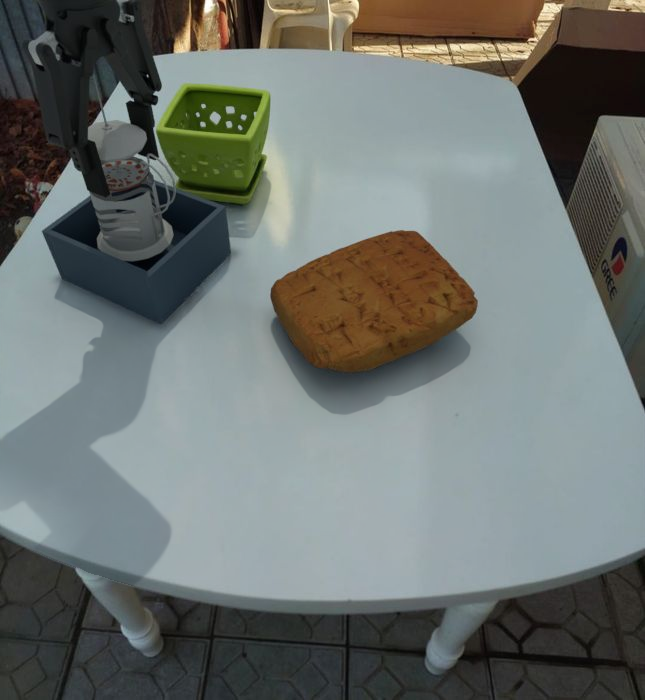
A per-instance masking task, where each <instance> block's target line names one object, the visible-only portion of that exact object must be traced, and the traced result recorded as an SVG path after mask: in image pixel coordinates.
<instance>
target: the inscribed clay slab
mask: <svg viewBox="0 0 645 700" xmlns="http://www.w3.org/2000/svg"><path fill="white" fill-rule="evenodd" d="M475 294H476V292H475V291H474V290H473V289H472V287H471V286H470V285H469V283H468V282H467V281H466V279H465V278H463V277H461V275H460V274H459V272H458V271H457V270H455V268H454V267H453V266H452V265H451V264H450V262H448V260H447V259H445V258H444V257H443V256H442V255H441V254H440V253H439V251H438V250H437V249H436V248H435V247H434V246H433V245H432V244H431V243H430V242H429V241H427V239H426V238H425V237H424V236H423V235H421V233H419V232H418V231H416V230H403V229H402V230H395V231H392V230H390V231H388V232H385V233H381V234H378V235H375V236H372V237H369V238H368V237H367V238H365V239H362V240H360V241H357V242H355V243H351V244H350V245H348V246H344V247H340V248H338V249H336V250H333V251H331V252H330V253H327V254H323V255H321V256H319V257H317V258H315V259H313V260H310V261H308V262H307V263H305V264H304V265H301V266H300V267H298V268H297V269H295V270H292V271H289V272H288V273H286V274H285V275H283V276H282V277H281V278H279V279H276V281H275V282H274V283H273V284H272V286H271V287H270V295H269V296H270V301H271V304H272V308H273V310H274V312H275V315H276V316H277V319H278V320H279V322H280V325H281V326H282V327H283V329H284V331H285V332H286V333H287V335H288V337H289V339H290V340H291V342H292V344H293V345H294V347H295V348H296V349H297V350H298V351H299V352H300V353H301V355H302V356H303V358H304V359H305V360H306V361H307V362H308V363H309V364H311V365H313V366H314V367H315V368H319V369H330V370H333V371H338V372H342V373H345V374H347V373H354V372H355V373H358V372H364V371H370V370H373V369H376V368H379V367H381V366H383V365H385V364H388V363H390V362H393V361H395V360H398V359H401V358H403V357H405V356H408V355H410V354H412V353H416V352H417V351H420V350H422V349H423V350H424V348H426V347H429V346H431V345H433V344H435V343H437V342H439V341H440V340H441V339H442V338H444V337H446V336H447V335H449V334H450V333H452V332H454V331H456V330H457V329H459V328H460V327H462V326H463V325H464V324H466V323H468V322H469V321H470V320H471V319H473V318H474V316H475V314H476V313H477V311H478V310H477V309H478V305H479V300H478V299H477V298H476V296H475Z"/></svg>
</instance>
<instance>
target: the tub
mask: <svg viewBox="0 0 645 700" xmlns="http://www.w3.org/2000/svg"><path fill="white" fill-rule="evenodd" d="M146 180H148V181H149V182H150V183H151V184H152V185H153V182H152V180H150V179H149V178H148V177H147V178H146ZM154 181H155V186H156V191H157V196H158V201H159V205H160V206H161V205H164V204H167V201H168V196H167V191H166V187H165V184H164V182H161V181H158V180H156V179H154ZM167 186H168V191H169V195H170V201H171V200H172V197H173V192H174V188H173V185H169V184H167ZM140 187H143V188H149V189H150V190H151V191H152V192H153V190H152V188H151V187H150V186H149V185H148V184H139V185H138V186H135V187H133V188H130V189H127V190H122V191H119V192H113V193H111V194H112V197H113V196H119V195H122V194H125V193H128V192H131V191H133V190H135V189H138V188H140ZM145 193H146V192H140V193H138V194H135V195H133V196H131V197H128V198H125V199H122V200H118V201H127V200H131V199H135V198H137V197H139V196H142V195H144V194H145ZM150 197H151V198H152V199H153V200H155V199H154V197H153V196H152V195H151V194H150ZM114 202H117V201H114ZM152 205H153V206H154V207H155V208H156V205H155V204H154V203H153V202H152ZM165 208H166V207H163V208H160V210H161V211H163V210H164V209H165ZM156 209H157V208H156ZM124 211H127V210H123V209H116V212H117V213H119V212H124ZM161 215H162V219H164V220H165V221H166V222H167V223H169V224H170V225H171V226H172V230H173V234H174V235H173V238H172V241H171V243H170V245H169V246H168V247H167V248H165V249H164V250H163V251H162V252H161V253H159V254H157V255H155V256H152V257H150V258H148V259H143V260H137V261H122V260H120V259H118V258H115V257H113V256H111V255H108V254H106V253H104V252H102V251H101V250H100V249H99V248H98V244H97V237H98V235H99V233H100V231H101V229H102V228H101V229H100V225H99V222H98V217H97V216H96V212H95V208H94V206H93V203H92V199H91V196H90V195H89V196H87V197H86V198H84V200H82V201H80V202H79V203H78V204H76V205H75V206H73V207H72V208H71V209H70V210H68V211H66V212H65V213H64V214H63V215H61V216H60V217H59V218H57V219H56V220H55V221H54V222H52V223H50V224H49V225H48V226H46V227H45V228H43V229H42V230H41V233H42V235H43V238H44V240H45V242H46V246H47V248H48V250H49V252H50V255H51V257H52V259H53V262H54V264H55V266H56V269H57V271H58V274H59V275H60V278H61V279H62V280H64V281H66V282H68V283H70V284H72V285H74V286H77V287H79V288H81V289H84V290H85V291H88V292H90V293H91V294H92V293H93V294H94V295H97V296H98V297H101V298H102V299H106V300H107V301H110V302H112V303H114V304H116V305H119V306H121V307H122V308H125V309H127V310H129V311H131V312H133V313H136V314H138V315H140V316H142V317H145V318H147V319H148V320H150V321H153V322H155V323H157V324H160V325H162V324H163V323H164V322H165V321H166V320H167V319H168V318H169V317H170V316H171V315H172V314H173V313H174V312H175V311H176V310H177V309H178V308H179V307H180V306H181V305H182V304H183V303H184V302H185V301H186V300H187V299H188V298H189V296H191V295H192V294H193V293H194V291H196V289H197V288H199V287H200V286H201V285H202V284H203V282H205V280H207V279H208V278H209V277H210V276H211V275H212V273H213V272H214V271H215V270H217V268H218V267H220V266H221V264H222V263H224V261H226V260H227V258H228V257H229V256H230V255H231V254H232V251H231V242H230V241H231V240H230V233H229V232H230V231H229V224H228V216H227V215H228V214H227V207H226V206H225V205H224V204H220V203H217V202H216V201H212V200H207V199H204V198H201V197H199V196H196V195H193V194H191V193H188V192H185V191H183V190H180V189H177V188H176V194H175V198H174V201H173V202H172V203H171V204H170V205H169V206H168V209H167V210H166V211H165V212H164V213H162V214H161Z"/></svg>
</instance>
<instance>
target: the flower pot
mask: <svg viewBox="0 0 645 700" xmlns="http://www.w3.org/2000/svg"><path fill="white" fill-rule="evenodd" d="M202 105H205V107H202ZM227 107H228V108H229V107H232V108H233V109H234V110H233V111H234V112H227ZM214 112H215V113H216V114H217V115H219V117H220V118H219V120H218V122H217V123H215V122H214V121H213V120H212V119H211V115H213V113H214ZM197 113H198V115H199V116H198V115H197ZM242 115H243V116H246V117H245V119H243V118H242ZM270 116H271V92H270V91H268V90H265V89H259V88H252V87H251V88H250V87H243V86H233V85H221V84H211V83H186V82H185V83H183V84H182V85H181V86H180V87H179V88H178V90H177V91H176V93H175V94H174V95H173V98H172V99H171V101H170V102H169V104H168V105H167V107H166V109H165V110H164V113H162V116H161V118H160V120H159V122H158V124H157V126H156V128H155V134H156V136H157V141H158V143H159V146H160V149H161V152H162V154H163V156H164V159H165V161H166V163H167V165H169V167H170V169H171V171H172V172H173V173H174V174H175V176H176V177H177V178H178V179H177V181H176V182H175V188H177V189H180V190H183V191H185V192H188V193H191V194H193V195H196V196H199V197H201V198H204V199H207V200H209V201H212V202H223V203H233V204H237V205H238V206H244V205H246V204H248V203H249V202H250V201H251V200H252V198H253V195H254V193H255V191H256V188H257V186H258V183H259V182H260V179H261V176H262V173H263V172H264V168H265V165H266V162H267V159H268V155H267V154H262V153H263V151H264V147H265V144H266V140H267V136H268V130H269V125H270ZM227 122H230V123H231V126H230V127H228V125H227ZM201 123H204V124H205V126H202V125H201ZM239 126H240V127H241V129H240V128H239Z"/></svg>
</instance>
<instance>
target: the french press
mask: <svg viewBox="0 0 645 700" xmlns="http://www.w3.org/2000/svg"><path fill="white" fill-rule="evenodd" d="M92 79H93V83H94V87H95V90H96V95H97V98H98V102H99V106H100V110H101V113H102V118H103V121H98V122H94V123H93V124H91V125H88V140H91V141H94V142H95V144H96V147H97V151H98V154H99V157H100V161H101V164H102V168H103V171H104V174H105V178H106V181H107V185H108V188H109V192H110V195H109V196H107V197H106V198H105V197H103V196H100V195H98V194H95V193H93V192H90V191H88V193H89V196H91V199H92V203H93V206H94V208H95V212H96V216H97V217H98V222H99V225H100V229H101V228H102V229H101V231H100V233H99V235H98V237H97V244H98V248H99V249H100V250H101V251H102V252H104V253H106V254H108V255H111V256H113V257H115V258H118V259H120V260H122V261H137V260H143V259H148V258H150V257H152V256H155V255H157V254H159V253H161V252H162V251H163V250H164V249H165V248H167V247H168V246H169V245H170V243H171V241H172V238H173V235H174V234H173V230H172V226H171V225H170V224H169V223H167V222H166V221H165V220H164V219H162V215H161V214H162V213H164V212H165V211H166V210H167V209H168V206H169V205H170V204H171V203H172V202H173V201H174V198H175V194H176V188H175V185H176V182H175V181H176V180H175V178H174V175H173V173H172V172H171V170H170V169H169V167H168V166H167V165H166V164H165V163H164V162H163V161H162V160H161V159H160V157H159V158H157V157H156V156H154V155H153V154H148V155H147V157H146V160H147V161H145V160H144V159H142V158H139V157H136V155H138V153H139V152H140V151H141V150H142V149H143V147H144V145H145V143H146V141H147V136H146V132H145V131H144V130H142V129H141V128H140V127H139V126H136V125H133V124H130V122H127V121H122V120H118V119H114V120H113V119H112V120H107V119H106V115H105V110H104V106H103V102H102V99H101V98H102V97H101V95H100V92H99V87H98V83H97V80H96V75H95V72H94V73H93V76H92ZM149 156H151V157H153V158H155V159H156V160H155V161H158V162H159V163H160V164H161V166H163V168H165V170H166V172H167V173H168V175H169V176H170V178H171V181H172V187H173V188H174V192H173V197H172V200H171V201H170V195H169V191H168V186H167V185H168V184H167V182H166V181H165V178H163V176H162V174H161V173H160V172H159V171H158V170H157V169H156V168H155V167H154V166H153V165H151V164H150V162H151V159H150V158H149ZM150 169H152V170H153V171H154V172H155V173H156V174H157V175H158V177H159V178H160V179H161V181H162V183H164V184H165V187H166V191H167V196H168V201H167V204H164V205H161V206H160V205H159V201H158V196H157V191H156V186H155V181H154V180H155V177H154V174H153V173H152V172H151V170H150ZM147 177H148V178H149V179H150V180H152V182H153V185H152V184H151V183H150V182H149V181H148V180H146V178H147ZM139 184H148V185H149V186H150V187H151V188H152V190H153V192H152V191H151V190H150V189H149V188H143V187H140V188H138V189H135V190H133V191H131V192H128V193H125V194H122V195H119V196H113V197H112V194H111V193H113V192H119V191H122V190H127V189H130V188H133V187H135V186H138V185H139ZM140 192H146V193H145V194H144V195H142V196H139V197H137V198H135V199H131V200H127V201H118V200H122V199H125V198H128V197H131V196H133V195H135V194H138V193H140ZM150 194H151V195H152V196H153V197H154V199H155V200H153V199H152V198H151V197H150ZM114 201H117V202H114ZM152 202H153V203H154V204H155V205H156V208H157V209H156V208H155V207H154V206H153V205H152ZM163 207H166V208H165V209H164V210H163V211H161V210H160V208H163ZM116 209H123V210H127V211H124V212H119V213H117V212H116Z"/></svg>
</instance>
